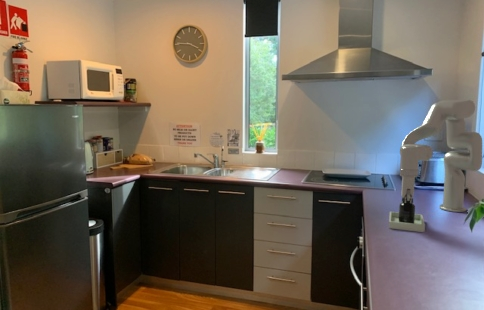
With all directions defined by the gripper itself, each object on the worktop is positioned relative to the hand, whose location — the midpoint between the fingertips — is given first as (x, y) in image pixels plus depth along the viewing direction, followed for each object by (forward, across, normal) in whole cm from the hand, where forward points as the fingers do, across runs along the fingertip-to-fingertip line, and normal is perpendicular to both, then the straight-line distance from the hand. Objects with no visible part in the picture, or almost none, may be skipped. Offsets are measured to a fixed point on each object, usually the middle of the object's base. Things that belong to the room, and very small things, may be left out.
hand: (407, 208), depth 170 cm
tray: (+8, +1, 0) cm, 8 cm away
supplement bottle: (+7, 0, 0) cm, 7 cm away
